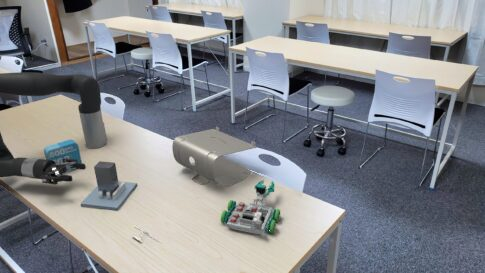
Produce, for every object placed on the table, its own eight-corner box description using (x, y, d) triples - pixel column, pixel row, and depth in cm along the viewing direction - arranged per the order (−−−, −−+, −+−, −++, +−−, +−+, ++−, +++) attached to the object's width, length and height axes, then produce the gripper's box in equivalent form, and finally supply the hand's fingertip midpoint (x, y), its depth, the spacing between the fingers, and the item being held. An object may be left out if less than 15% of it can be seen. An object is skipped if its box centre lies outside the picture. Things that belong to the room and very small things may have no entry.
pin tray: (103, 182, 146) (102, 174, 145) (137, 185, 144) (136, 177, 143) (81, 206, 132) (79, 197, 131) (117, 210, 130) (116, 201, 128)
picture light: (162, 243, 116) (162, 238, 115) (151, 251, 113) (150, 246, 112) (134, 225, 123) (133, 220, 122) (123, 232, 120) (122, 227, 119)
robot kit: (288, 198, 137) (290, 176, 133) (271, 243, 116) (272, 218, 112) (240, 189, 143) (240, 168, 139) (216, 230, 121) (215, 206, 117)
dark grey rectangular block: (104, 189, 140) (99, 161, 135) (119, 190, 139) (115, 162, 134) (99, 195, 136) (93, 166, 131) (114, 196, 135) (109, 168, 130)
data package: (53, 177, 150) (46, 151, 145) (49, 173, 153) (42, 147, 148) (82, 167, 157) (77, 141, 152) (78, 163, 160) (73, 138, 155)
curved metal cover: (173, 172, 154) (169, 138, 147) (214, 152, 169) (213, 121, 163) (215, 196, 138) (214, 159, 131) (257, 172, 154) (258, 138, 147)
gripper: (22, 169, 131) (65, 173, 128) (48, 150, 143) (87, 154, 141) (28, 187, 134) (69, 192, 132) (52, 167, 147) (90, 171, 144)
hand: (78, 172), depth 136 cm, fingers open, 8 cm apart
